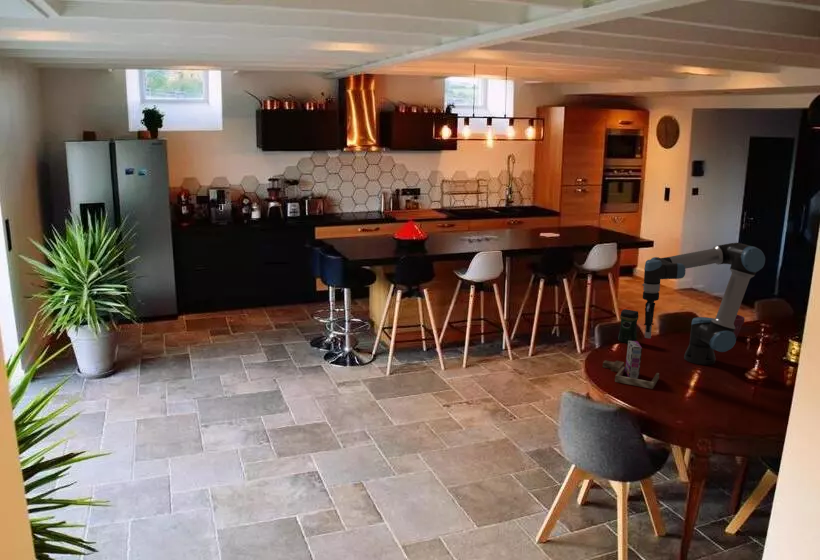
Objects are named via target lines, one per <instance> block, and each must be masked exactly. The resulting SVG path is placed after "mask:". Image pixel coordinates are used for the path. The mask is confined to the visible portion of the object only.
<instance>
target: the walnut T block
mask: <svg viewBox="0 0 820 560" xmlns="http://www.w3.org/2000/svg"><path fill="white" fill-rule="evenodd" d="M622 367H625V362H624V361H620V360H615V361H609V360H603V362H602V368H605V369H610V371H611V372H616V373H618V372H619V371H620V369H621V368H622Z"/></svg>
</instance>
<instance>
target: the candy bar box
mask: <svg viewBox="0 0 820 560" xmlns="http://www.w3.org/2000/svg"><path fill="white" fill-rule="evenodd" d="M642 351H643V347H642V346H641V344H640V342H639V341H628V343H627V350H626V358H625V366H624V367H625V374H626V377H629V378H635V379H640V371H641V360H642Z"/></svg>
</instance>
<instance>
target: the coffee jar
mask: <svg viewBox="0 0 820 560" xmlns="http://www.w3.org/2000/svg"><path fill="white" fill-rule="evenodd" d="M639 318H640V317H639V311H637V310H633V309H626V308H624V309H622V310H621V311H620V327H619V332H618V342H621V343H625V344H628V341H637V339H638V338H637V337H638V336H637V335H638V334H637V325H638V324H637V323H638V320H639Z"/></svg>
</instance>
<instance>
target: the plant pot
mask: <svg viewBox="0 0 820 560" xmlns="http://www.w3.org/2000/svg"><path fill="white" fill-rule="evenodd" d="M744 324H745V316H742V315H741V314H737V316H736V318H735V321H734V326H735V331H734V334H735V337H736V339H738V336H739V334H740V331H741V328H742V327H743V326H742V325H744Z"/></svg>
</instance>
